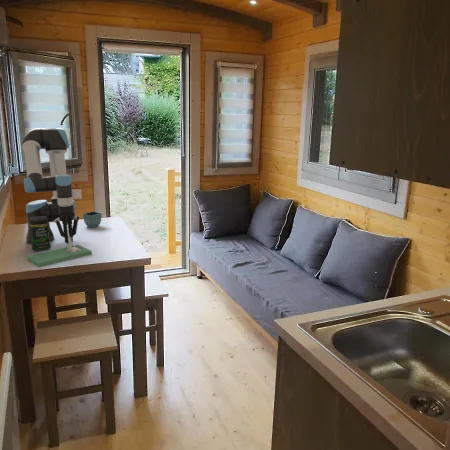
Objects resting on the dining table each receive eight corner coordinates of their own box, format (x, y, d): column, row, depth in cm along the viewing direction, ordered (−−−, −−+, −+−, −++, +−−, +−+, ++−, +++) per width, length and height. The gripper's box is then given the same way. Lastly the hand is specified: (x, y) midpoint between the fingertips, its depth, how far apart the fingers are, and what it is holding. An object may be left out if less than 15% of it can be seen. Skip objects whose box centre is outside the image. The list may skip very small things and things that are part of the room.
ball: (76, 247, 231) (77, 253, 230) (69, 247, 229) (70, 254, 228) (77, 245, 228) (78, 252, 228) (71, 246, 226) (72, 252, 226)
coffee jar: (32, 252, 229) (28, 219, 224) (31, 248, 236) (27, 215, 231) (51, 250, 233) (48, 217, 228) (50, 246, 240) (47, 214, 235)
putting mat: (27, 259, 219) (26, 255, 218) (78, 247, 237) (78, 244, 237) (38, 267, 208) (38, 263, 208) (91, 254, 227) (91, 250, 227)
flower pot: (92, 229, 274) (91, 215, 272) (83, 227, 279) (82, 213, 277) (102, 226, 281) (101, 213, 279) (93, 224, 286) (92, 211, 284)
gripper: (56, 208, 212) (60, 252, 219) (80, 204, 221) (84, 247, 227) (50, 205, 218) (54, 249, 224) (74, 202, 226) (78, 244, 233)
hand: (69, 248), depth 226 cm, fingers closed
